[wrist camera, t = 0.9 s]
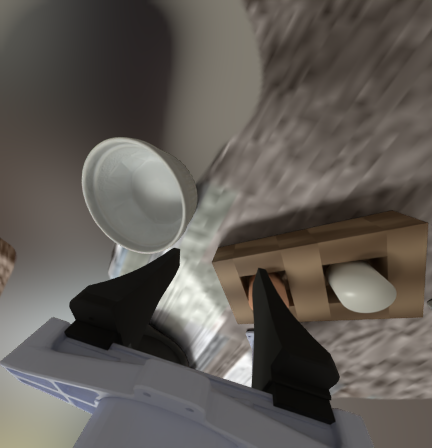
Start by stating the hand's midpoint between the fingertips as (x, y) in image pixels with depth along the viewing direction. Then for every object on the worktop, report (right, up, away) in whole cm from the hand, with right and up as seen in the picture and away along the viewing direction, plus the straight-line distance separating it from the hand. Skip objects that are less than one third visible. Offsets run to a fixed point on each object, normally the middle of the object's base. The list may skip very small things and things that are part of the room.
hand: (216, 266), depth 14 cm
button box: (+12, -3, +9) cm, 16 cm away
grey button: (+16, -2, +5) cm, 17 cm away
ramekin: (-8, +9, +10) cm, 15 cm away
